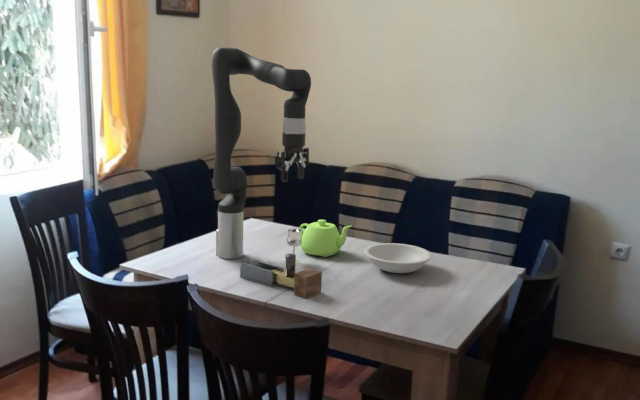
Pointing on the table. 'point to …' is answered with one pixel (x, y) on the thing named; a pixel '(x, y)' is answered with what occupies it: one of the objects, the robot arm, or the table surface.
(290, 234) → the wineglass
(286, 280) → the tube
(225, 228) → the robot arm
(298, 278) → the brown wooden cube
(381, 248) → the soup bowl
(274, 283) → the sleeve
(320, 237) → the teapot
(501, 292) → the table surface
